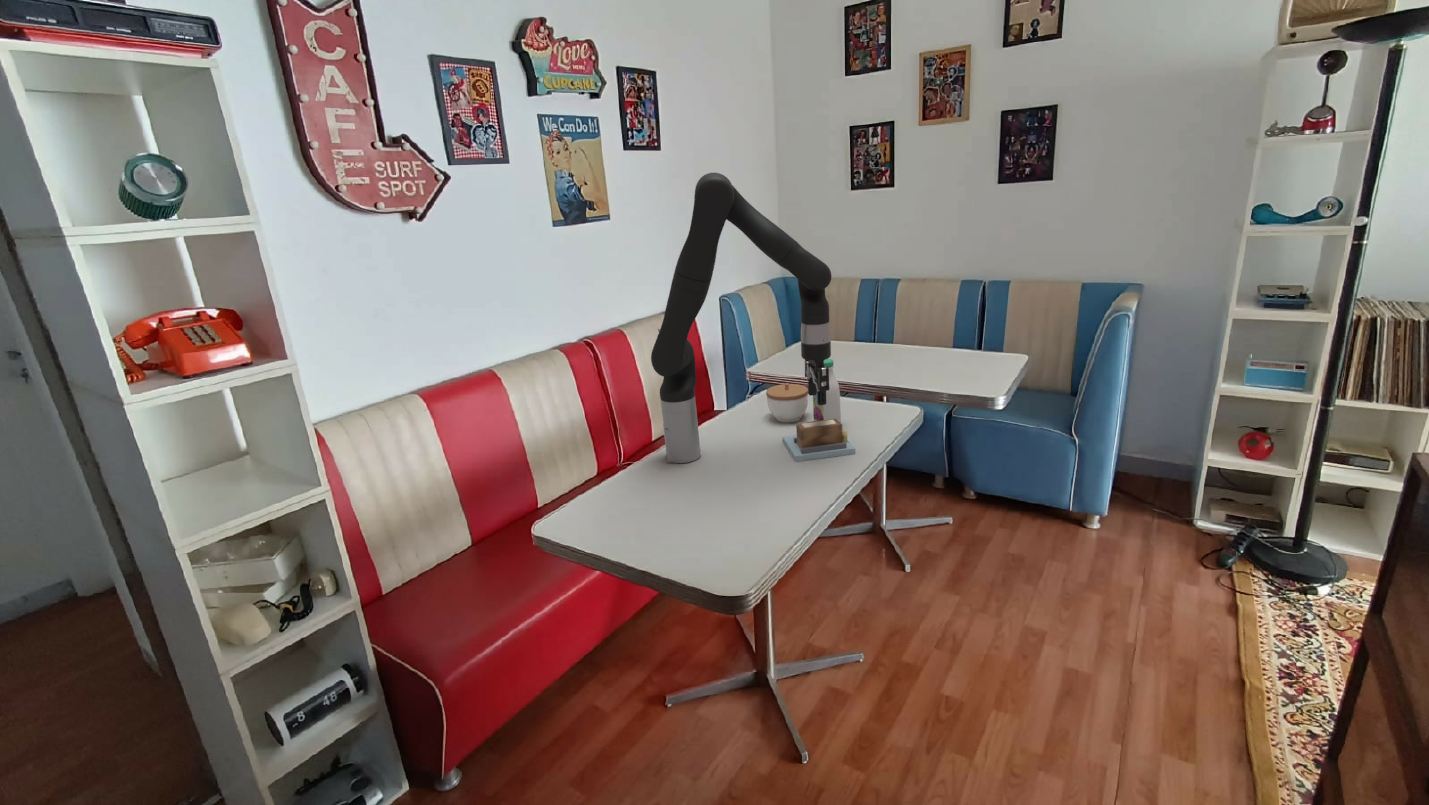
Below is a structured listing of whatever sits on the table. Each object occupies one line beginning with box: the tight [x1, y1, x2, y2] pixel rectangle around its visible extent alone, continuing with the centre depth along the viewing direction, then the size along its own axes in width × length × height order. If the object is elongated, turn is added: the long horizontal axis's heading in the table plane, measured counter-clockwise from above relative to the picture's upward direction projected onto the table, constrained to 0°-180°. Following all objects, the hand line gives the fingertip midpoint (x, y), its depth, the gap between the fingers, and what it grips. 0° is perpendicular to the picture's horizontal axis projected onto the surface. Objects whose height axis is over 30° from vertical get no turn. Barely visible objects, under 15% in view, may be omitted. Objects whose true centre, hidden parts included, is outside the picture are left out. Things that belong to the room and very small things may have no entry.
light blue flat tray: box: [781, 429, 856, 463], centre depth 187 cm, size 16×15×4 cm
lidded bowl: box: [765, 382, 809, 423], centre depth 210 cm, size 13×13×11 cm
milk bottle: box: [812, 358, 842, 424], centre depth 199 cm, size 8×8×20 cm
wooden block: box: [795, 418, 843, 449], centre depth 185 cm, size 11×5×6 cm, turn 98°
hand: (817, 399), depth 182 cm, fingers open, 8 cm apart
